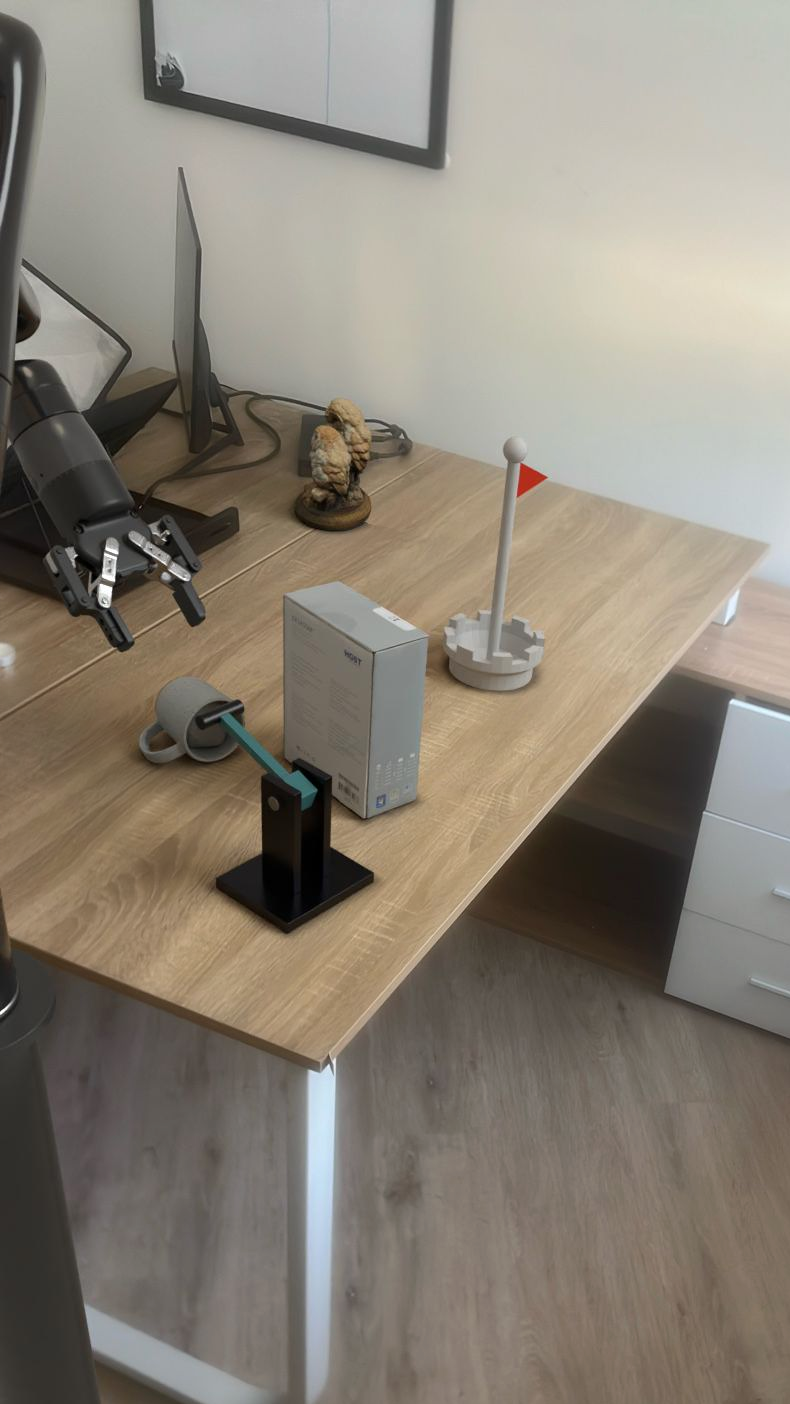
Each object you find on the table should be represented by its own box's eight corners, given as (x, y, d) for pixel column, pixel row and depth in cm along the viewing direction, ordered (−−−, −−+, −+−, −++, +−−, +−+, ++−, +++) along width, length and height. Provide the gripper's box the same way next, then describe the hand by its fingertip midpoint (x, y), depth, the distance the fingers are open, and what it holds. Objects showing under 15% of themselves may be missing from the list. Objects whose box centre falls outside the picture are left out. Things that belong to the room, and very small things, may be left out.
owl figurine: (304, 484, 208) (305, 374, 197) (376, 493, 209) (381, 385, 198) (287, 526, 194) (287, 411, 183) (364, 536, 195) (369, 422, 184)
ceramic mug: (209, 720, 149) (206, 660, 144) (247, 752, 144) (244, 692, 139) (126, 745, 143) (119, 684, 138) (162, 779, 139) (157, 717, 134)
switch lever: (192, 726, 121) (197, 709, 120) (232, 709, 125) (237, 692, 123) (284, 820, 119) (290, 803, 118) (322, 800, 123) (328, 784, 121)
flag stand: (473, 701, 160) (499, 461, 141) (423, 655, 168) (440, 422, 149) (558, 684, 167) (594, 453, 147) (506, 641, 174) (533, 415, 155)
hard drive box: (419, 801, 142) (432, 636, 129) (364, 822, 137) (372, 653, 124) (334, 739, 149) (339, 577, 136) (279, 757, 145) (279, 592, 132)
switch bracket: (215, 887, 125) (210, 777, 117) (303, 839, 133) (304, 733, 125) (287, 933, 121) (287, 823, 113) (373, 882, 129) (379, 774, 121)
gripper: (22, 473, 111) (120, 641, 114) (152, 443, 121) (239, 599, 123) (-6, 513, 117) (87, 673, 119) (120, 481, 126) (204, 630, 129)
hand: (164, 635), depth 121 cm, fingers open, 8 cm apart
